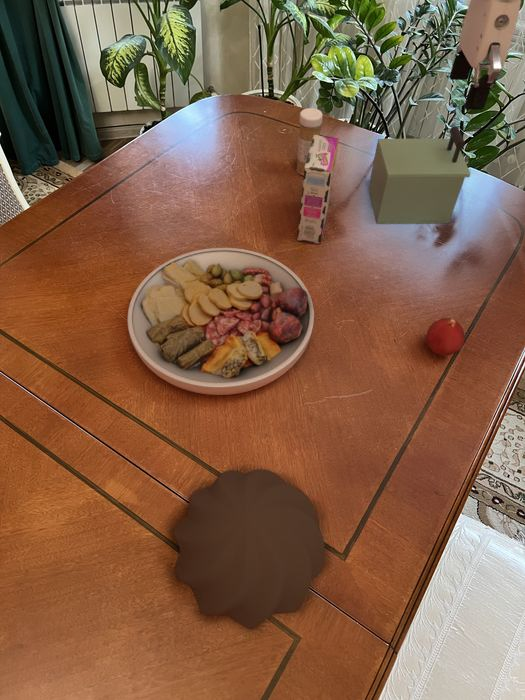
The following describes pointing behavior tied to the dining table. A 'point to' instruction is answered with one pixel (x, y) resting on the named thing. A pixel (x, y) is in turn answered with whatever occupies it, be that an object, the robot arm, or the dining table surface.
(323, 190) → the candy bar box
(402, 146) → the lid
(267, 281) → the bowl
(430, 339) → the onion
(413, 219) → the compartment
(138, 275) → the dining table surface
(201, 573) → the decorative dome
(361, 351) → the dining table surface
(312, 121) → the sprinkles bottle
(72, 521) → the dining table surface
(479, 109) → the robot arm
